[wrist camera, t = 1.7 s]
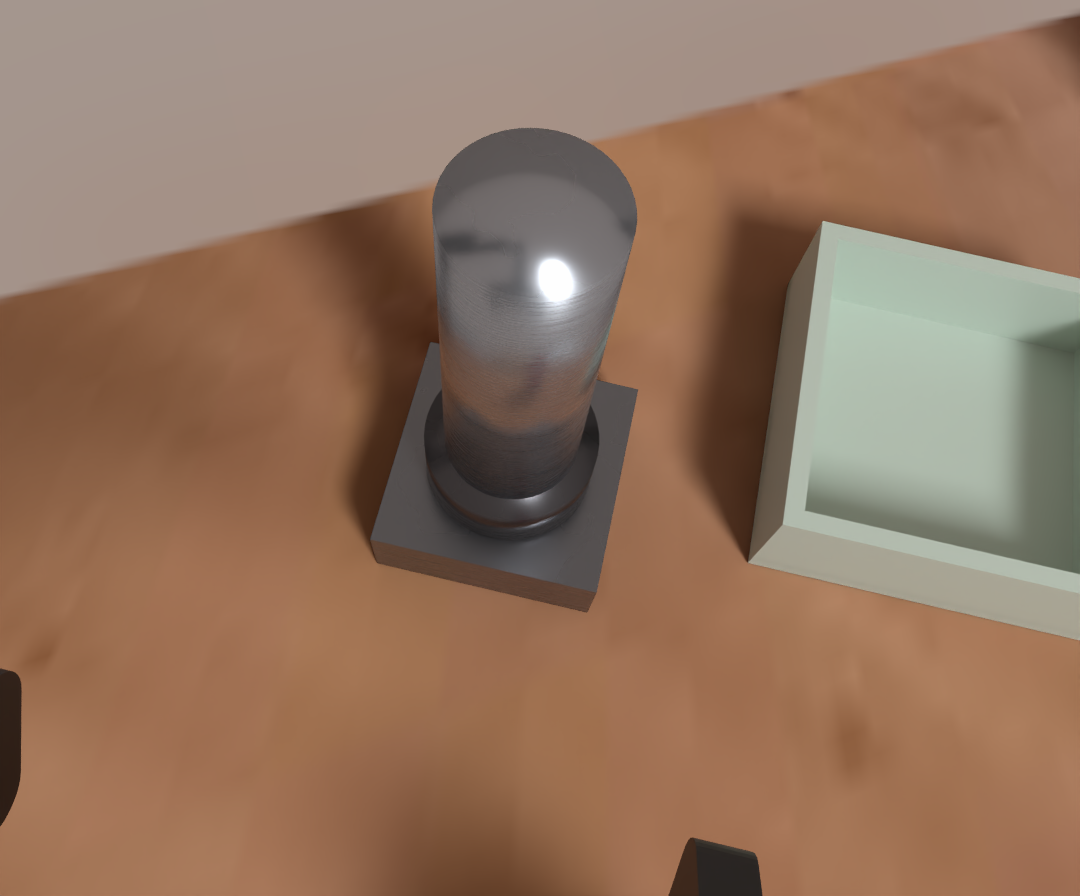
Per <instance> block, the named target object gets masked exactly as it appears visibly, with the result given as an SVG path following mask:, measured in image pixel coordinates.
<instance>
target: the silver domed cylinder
mask: <svg viewBox="0 0 1080 896" xmlns="http://www.w3.org/2000/svg"><path fill="white" fill-rule="evenodd" d="M432 214H433V233H434V251H435V270H436V289H437V308H438V327H439V345H440V364H441V383H442V389H441V391H440V392H439V393H438V395H437V396H436V397H435V399H434V401H433V403H432V405H431V407H430V409H429V412H428V415H427V418H426V423H425V428H424V446H425V456H426V466H427V474H428V479H429V483H430V486H431V489H432V491H433V494H434V495H435V497H436V499H437V501H438V503H439V504H440V505H441V507H442V508H443V509H444V511H445V512H446V513H447V514H448V515H449V516H450V517H451V518H452V519H453V520H455V521H456V522H457V523H458V524H460V525H461V526H463V527H464V528H466V529H468V530H469V531H472V532H474V533H476V534H478V535H481V536H485V537H488V538H492V539H498V540H524V539H528V538H533V537H536V536H539V535H542V534H545V533H547V532H549V531H551V530H553V529H555V528H556V527H557V526H559V525H560V524H562V523H563V522H564V521H566V520H567V519H568V518H569V517H570V516H571V515H572V514H573V513H574V511H575V510H576V509H577V508H578V506H579V505H580V503H581V502H582V500H583V498H584V496H585V494H586V492H587V489H588V486H589V483H590V480H591V477H592V473H593V470H594V467H595V464H596V460H597V457H598V451H599V429H598V423H597V420H596V416H595V413H594V411H593V409H592V407H591V400H592V396H593V392H594V388H595V385H596V381H597V377H598V373H599V369H600V365H601V362H602V358H603V354H604V350H605V346H606V343H607V339H608V335H609V331H610V327H611V324H612V320H613V316H614V312H615V308H616V304H617V301H618V297H619V293H620V289H621V285H622V282H623V278H624V274H625V270H626V266H627V263H628V259H629V255H630V251H631V247H632V243H633V240H634V236H635V232H636V225H637V208H636V203H635V198H634V195H633V192H632V189H631V187H630V185H629V183H628V181H627V179H626V177H625V176H624V174H623V173H622V172H621V170H620V169H619V168H618V166H617V165H616V164H615V163H614V162H613V161H612V160H611V159H610V158H609V157H608V156H607V155H605V154H604V153H603V152H602V151H600V150H599V149H597V148H596V147H595V146H593V145H591V144H590V143H588V142H586V141H584V140H582V139H579V138H577V137H575V136H572V135H570V134H566V133H562V132H559V131H554V130H549V129H539V128H518V129H511V130H506V131H501V132H498V133H494V134H491V135H489V136H486V137H483V138H481V139H479V140H477V141H476V142H474V143H472V144H470V145H469V146H468V147H466V148H465V149H463V150H462V151H461V152H460V153H459V154H457V156H455V157H454V158H453V159H452V160H451V162H450V163H449V164H448V165H447V166H446V168H445V170H444V171H443V173H442V175H441V176H440V178H439V180H438V183H437V185H436V188H435V192H434V196H433V206H432Z"/></svg>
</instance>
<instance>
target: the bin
mask: <svg viewBox="0 0 1080 896" xmlns="http://www.w3.org/2000/svg"><path fill="white" fill-rule="evenodd" d="M748 563H751V564H755V565H759V566H763V567H768V568H772V569H776V570H781V571H785V572H789V573H793V574H798V575H802V576H806V577H811V578H815V579H819V580H823V581H828V582H832V583H836V584H841V585H845V586H849V587H853V588H858V589H862V590H866V591H871V592H875V593H879V594H883V595H888V596H892V597H896V598H901V599H905V600H909V601H913V602H918V603H922V604H926V605H930V606H935V607H939V608H943V609H948V610H952V611H956V612H960V613H965V614H969V615H973V616H978V617H982V618H986V619H990V620H995V621H999V622H1003V623H1008V624H1012V625H1016V626H1020V627H1025V628H1029V629H1033V630H1038V631H1042V632H1046V633H1050V634H1055V635H1059V636H1063V637H1068V638H1072V639H1076V640H1080V279H1079V278H1075V277H1070V276H1066V275H1062V274H1057V273H1053V272H1048V271H1044V270H1039V269H1035V268H1030V267H1026V266H1021V265H1017V264H1013V263H1008V262H1004V261H999V260H995V259H990V258H986V257H981V256H977V255H972V254H968V253H964V252H959V251H955V250H950V249H946V248H941V247H937V246H932V245H928V244H923V243H919V242H914V241H910V240H906V239H901V238H897V237H892V236H888V235H883V234H879V233H874V232H870V231H865V230H861V229H857V228H852V227H848V226H843V225H839V224H834V223H830V222H825V221H822V223H821V225H820V227H819V228H818V230H817V232H816V234H815V236H814V238H813V239H812V241H811V243H810V245H809V247H808V249H807V250H806V252H805V254H804V256H803V258H802V260H801V261H800V263H799V265H798V267H797V269H796V271H795V272H794V274H793V276H792V278H791V280H790V282H789V283H788V288H787V295H786V302H785V309H784V315H783V322H782V329H781V336H780V343H779V350H778V357H777V364H776V371H775V378H774V385H773V392H772V399H771V406H770V413H769V420H768V427H767V434H766V441H765V448H764V455H763V462H762V468H761V475H760V482H759V489H758V496H757V503H756V510H755V517H754V524H753V531H752V538H751V545H750V552H749V559H748Z"/></svg>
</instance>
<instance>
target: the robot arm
mask: <svg viewBox="0 0 1080 896" xmlns="http://www.w3.org/2000/svg"><path fill="white" fill-rule="evenodd" d="M20 774H21V681H20V678H19V676H18V675H17V674H16V673H15V672H13V671H8V670H4V669H0V826H1V825H2V823H3V822H4V820H5V818H6V816H7V815H8V813H9V811H10V809H11V807H12V804H13V802H14V799H15V797H16V794H17V790H18V787H19V782H20ZM669 896H762V888H761V881H760V873H759V865H758V860H757V857H756V855H755V853H753V852H750V851H746V850H742V849H738V848H734V847H730V846H725V845H721V844H717V843H713V842H709V841H705V840H701V839H696V838H690V839H689V840H688V842H687V844H686V846H685V849H684V851H683V854H682V857H681V860H680V863H679V866H678V869H677V872H676V875H675V878H674V881H673V884H672V887H671V890H670V893H669Z"/></svg>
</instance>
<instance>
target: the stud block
mask: <svg viewBox="0 0 1080 896" xmlns="http://www.w3.org/2000/svg"><path fill="white" fill-rule="evenodd" d="M441 389H442V383H441V364H440V345H439V344H438V343H433V342H430V345H429V348H428V351H427V355H426V358H425V361H424V365H423V368H422V371H421V374H420V378H419V381H418V384H417V387H416V391H415V394H414V397H413V401H412V404H411V407H410V410H409V414H408V417H407V420H406V423H405V427H404V430H403V433H402V437H401V440H400V443H399V446H398V450H397V453H396V456H395V459H394V463H393V466H392V469H391V473H390V476H389V479H388V482H387V486H386V489H385V492H384V495H383V499H382V502H381V505H380V509H379V512H378V515H377V518H376V522H375V525H374V528H373V531H372V535H371V538H370V541H371V544H372V548H373V551H374V555H375V558H376V561H377V563H379V564H384V565H388V566H392V567H396V568H401V569H405V570H409V571H413V572H418V573H422V574H426V575H430V576H434V577H439V578H443V579H447V580H451V581H456V582H460V583H464V584H468V585H473V586H477V587H481V588H485V589H490V590H494V591H498V592H502V593H507V594H511V595H515V596H519V597H524V598H528V599H532V600H536V601H541V602H545V603H549V604H553V605H558V606H562V607H566V608H570V609H575V610H579V611H583V612H588V610H589V608H590V605H591V603H592V601H593V599H594V597H595V595H596V592H597V587H598V583H599V578H600V573H601V568H602V563H603V558H604V553H605V548H606V544H607V539H608V534H609V529H610V524H611V519H612V514H613V509H614V504H615V500H616V495H617V490H618V485H619V480H620V475H621V470H622V465H623V461H624V456H625V451H626V446H627V441H628V436H629V431H630V426H631V422H632V417H633V412H634V407H635V402H636V397H637V392H638V389H633V388H629V387H625V386H620V385H616V384H612V383H607V382H603V381H599V380H597V381H596V385H595V388H594V392H593V396H592V400H591V407H592V409H593V411H594V413H595V416H596V420H597V423H598V429H599V451H598V457H597V460H596V464H595V467H594V470H593V473H592V477H591V480H590V483H589V486H588V489H587V492H586V494H585V496H584V498H583V500H582V502H581V503H580V505H579V506H578V508H577V509H576V510H575V511H574V513H573V514H572V515H571V516H570V517H569V518H568V519H567V520H566V521H564V522H563V523H562V524H560V525H559V526H557V527H556V528H555V529H553V530H551V531H549V532H547V533H545V534H542V535H539V536H536V537H533V538H528V539H524V540H498V539H492V538H488V537H485V536H481V535H478V534H476V533H474V532H472V531H469V530H468V529H466V528H464V527H463V526H461V525H460V524H458V523H457V522H456V521H455V520H453V519H452V518H451V517H450V516H449V515H448V514H447V513H446V512H445V511H444V509H443V508H442V507H441V505H440V504H439V503H438V501H437V499H436V497H435V495H434V494H433V491H432V489H431V486H430V483H429V479H428V474H427V466H426V456H425V446H424V428H425V423H426V418H427V415H428V412H429V409H430V407H431V405H432V403H433V401H434V399H435V397H436V396H437V395H438V393H439V392H440V391H441Z"/></svg>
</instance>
